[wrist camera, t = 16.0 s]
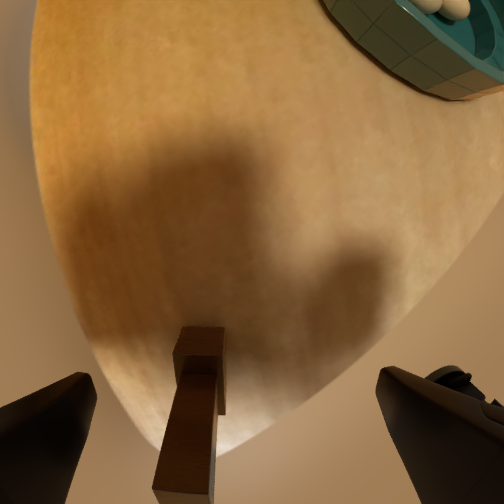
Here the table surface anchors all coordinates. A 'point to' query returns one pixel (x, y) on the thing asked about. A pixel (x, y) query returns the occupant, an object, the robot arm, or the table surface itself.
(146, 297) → the table surface
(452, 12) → the dumpling
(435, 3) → the dumpling
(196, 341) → the brown block
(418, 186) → the table surface
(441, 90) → the mixing bowl
